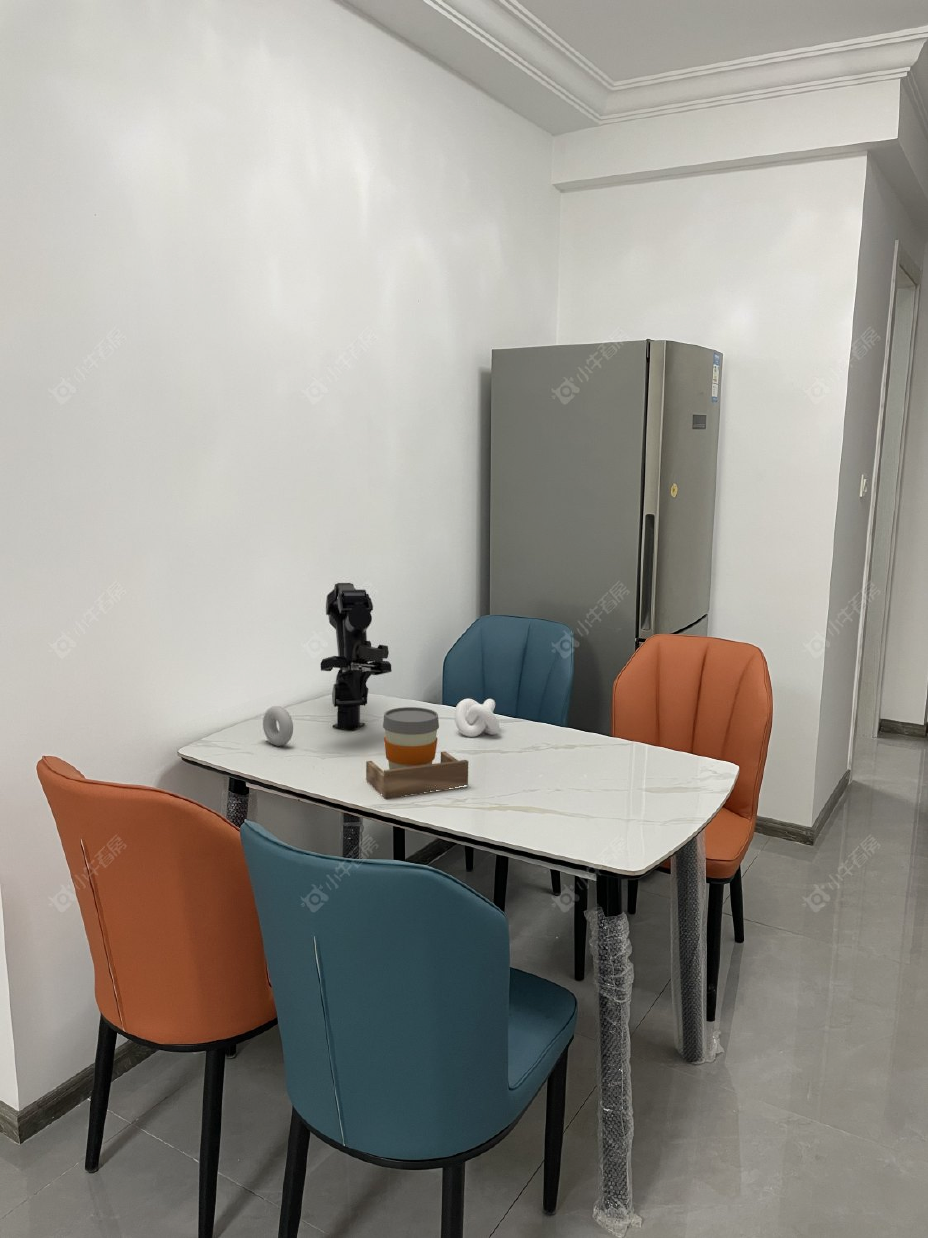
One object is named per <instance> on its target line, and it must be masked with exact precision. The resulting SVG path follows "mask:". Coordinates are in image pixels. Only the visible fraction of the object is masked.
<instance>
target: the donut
mask: <svg viewBox="0 0 928 1238" xmlns="http://www.w3.org/2000/svg"><path fill="white" fill-rule="evenodd" d="M277 724H278V725H277ZM278 727H279V729H278ZM262 730H263V732H264V733H263V734H264V735H265V737H266V739H267V740H268V742H269V743H271V744H273V745H274V746H276V747H277V746H278V747H280V746H281V747H282V746H284V745H287V744H288V743H289V742H290V741H291V739H292V736H293V734H294V723H293V719H292V716H291V715H290V713H289V712H288V711H287V709H286V708H284V707H282V706H281V705H280V706H279V705H273V706H271V707H269V708H268V709H266V711H265V713H264V715H263V718H262Z"/></svg>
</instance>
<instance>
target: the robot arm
mask: <svg viewBox="0 0 928 1238" xmlns="http://www.w3.org/2000/svg"><path fill="white" fill-rule="evenodd" d="M354 585H355V584H353V583H351V582H337V583H334V587H333V589H332V591H331V590H330V592H329V593H328V594H327V595H326V600H325V615H327V616H328V623H329V624H330V625H331V626H332V627H333V628H334V629H335V634H336V646H337V655H333V656H328V657H325V658H323V659H321V662H320V671H321V672H322V671H323V672H331V671H332V670H333V669H334V668H335V669H339V670H338V671H337V674H336V675H335V676H336V678H335V682H334V684H333V687H332V693H331V701H332V703H331V704H332V706H333V707H334V708H336V707H337V713H336V714H337V715H336V716H337V717H336V721H337V723H335V724H333V725H332V728H334V729H339V730H345V731H356V730H358V729H360V728H361V727H364V726H365V725H366V723H365V722H361V706H367V705H368V696H369V688H368V686H367V682H368V680H369V678H370V677H371V676H380V675H384V674H389V673H392V670H393V669H392V664H391V663H390V661H389V660H385V659H388V658H389V654H390V653H389V652H390V651H389V646H388V645H384V644H379V645H378V646H377V647H374V646H372V642H371V641H370V640H368V637H367V636H368V635H367V630H368V629H369V626H370V625H371V624H372V619H373V616H372V611H373V610H374V605H373V601H372V598H371V597H370V594H369V593H367V590H366V589H356V588H355V586H354ZM366 704H367V705H366Z"/></svg>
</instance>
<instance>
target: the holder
mask: <svg viewBox="0 0 928 1238" xmlns="http://www.w3.org/2000/svg"><path fill="white" fill-rule="evenodd" d="M365 764H366V765H365V770H366V771H365V773H366V774H365V781H366V780H367V781H366V782H367V783H368V784H369V785H370V786H371V785H372V786H373V787H374V788H375V791H377V792H378V794H380V795H381V794H382V795H381V796H382V797H383V798H384V799H385V800H389V799H396V798H402V797H401V796H403V797H406V796H405V795H410V796H412V795H411V794H417V795H421V794H420V793H424V792H430V791H436V790H445V789H449V788H455V787H459V786H464V785H468V786H469V760H467V759H461V760H458V759H457V758H455V757H454V756H452V755H451V754H450V753H449V752H447V751H440V762H438V763H437V762H436V763H432V764H429V765H421V766H413V767H406V768H398V769H390V770H389V769H384V770H383V769H382V768H380V767H379V766H378V765H377V764H376V763H375V762H373V760H367V761H365ZM372 786H371V787H372ZM373 787H372V788H373ZM374 788H373V789H374ZM445 791H446V790H445ZM424 794H425V793H424Z"/></svg>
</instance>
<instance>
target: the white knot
mask: <svg viewBox="0 0 928 1238" xmlns="http://www.w3.org/2000/svg"><path fill="white" fill-rule="evenodd" d="M495 707H496V702H495V700H494V699H492V698H488V699H486V700H484V701H483V703H479V702H477V701H476V700H474V699H472V698H464V699H462V700H461V701H459V702H458V703H457V705H456V707H455V710H454V722H455V726H456V728H457V730H458V731H459V733H460V734H462V735H463V736H465V737H468V738H473V737H477V736H479V735H481V733H483V732H484V733H486V734H488V735H491V736H495V735H497V734H498V733H499V730H500V723H499V720H498V718H497V716H496V715H495V713H494V710H495Z"/></svg>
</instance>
